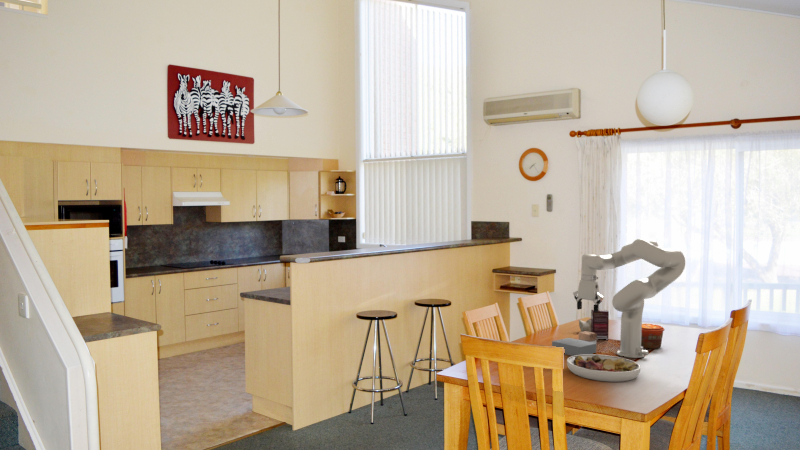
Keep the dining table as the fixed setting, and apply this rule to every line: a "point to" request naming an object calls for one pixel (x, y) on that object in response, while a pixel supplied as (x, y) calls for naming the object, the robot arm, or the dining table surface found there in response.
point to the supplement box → (600, 323)
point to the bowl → (603, 367)
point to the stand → (575, 346)
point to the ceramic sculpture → (585, 325)
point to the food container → (651, 336)
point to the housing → (588, 336)
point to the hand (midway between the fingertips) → (587, 310)
